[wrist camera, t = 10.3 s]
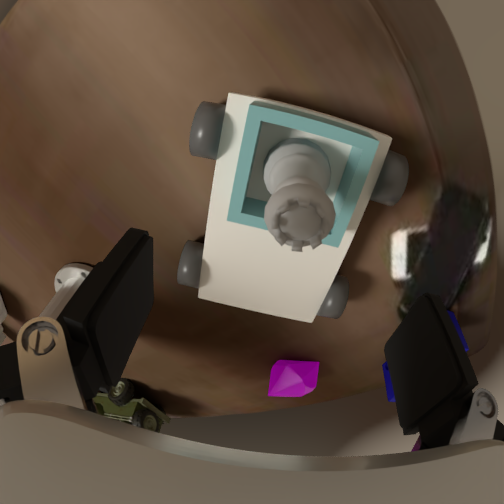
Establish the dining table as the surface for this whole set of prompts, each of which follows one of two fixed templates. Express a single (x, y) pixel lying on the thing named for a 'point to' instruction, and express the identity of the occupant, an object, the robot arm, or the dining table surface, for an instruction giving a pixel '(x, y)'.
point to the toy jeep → (130, 407)
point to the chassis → (256, 197)
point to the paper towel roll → (2, 335)
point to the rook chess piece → (298, 193)
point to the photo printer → (2, 310)
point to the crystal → (293, 378)
